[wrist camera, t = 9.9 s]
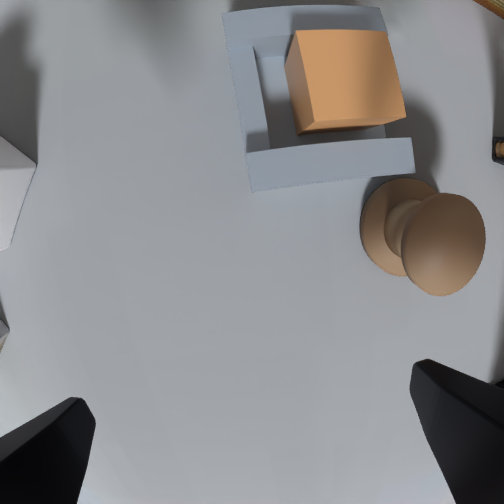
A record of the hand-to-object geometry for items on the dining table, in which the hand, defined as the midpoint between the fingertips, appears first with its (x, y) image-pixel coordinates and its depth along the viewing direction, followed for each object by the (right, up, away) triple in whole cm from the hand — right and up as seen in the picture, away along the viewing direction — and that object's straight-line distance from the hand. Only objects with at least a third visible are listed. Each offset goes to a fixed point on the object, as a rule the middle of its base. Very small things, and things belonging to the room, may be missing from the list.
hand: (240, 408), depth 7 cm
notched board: (+3, +12, +9) cm, 16 cm away
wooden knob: (+10, +5, +11) cm, 16 cm away
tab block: (+4, +12, +8) cm, 15 cm away
